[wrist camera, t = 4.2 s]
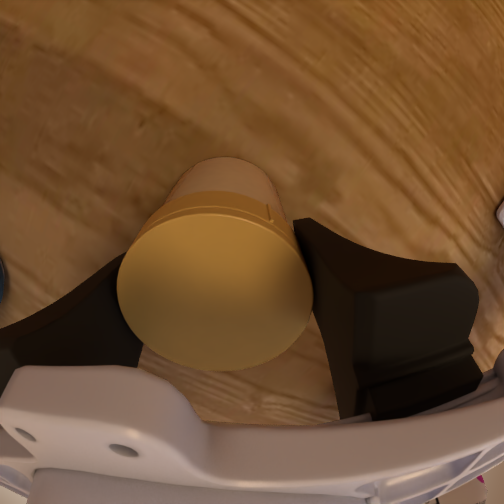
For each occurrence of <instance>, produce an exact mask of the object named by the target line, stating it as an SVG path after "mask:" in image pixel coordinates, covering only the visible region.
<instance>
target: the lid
mask: <svg viewBox="0 0 504 504" xmlns="http://www.w3.org/2000/svg"><path fill="white" fill-rule="evenodd" d="M117 295H118V302H119V305H120V309H121V312H122V314H123V316H124V318H125V320H126V322H127V324H128V325H129V327H130V329H131V330H132V331H133V332H134V334H135V335H136V336H137V337H138V338H139V339H140V340H141V341H142V342H143V343H144V344H145V345H146V346H148V347H149V348H150V349H151V350H153V351H154V352H156V353H157V354H159V355H161V356H162V357H164V358H166V359H168V360H170V361H172V362H175V363H177V364H180V365H183V366H186V367H190V368H194V369H199V370H206V371H235V370H241V369H246V368H250V367H254V366H257V365H260V364H262V363H265V362H267V361H269V360H271V359H273V358H275V357H276V356H278V355H280V354H281V353H283V352H284V351H285V350H286V349H288V348H289V347H290V346H291V345H292V344H293V343H294V342H295V341H296V340H297V339H298V338H299V336H300V335H301V333H302V332H303V331H304V329H305V327H306V325H307V323H308V321H309V318H310V315H311V312H312V307H313V285H312V280H311V277H310V273H309V271H308V267H307V264H306V261H305V258H304V256H303V253H302V250H301V247H300V244H299V241H298V239H297V237H296V235H295V234H294V232H293V230H292V229H291V227H290V226H289V225H288V223H287V222H286V221H285V220H284V219H283V218H282V217H281V216H280V215H279V214H278V213H277V212H275V211H274V210H273V209H271V205H270V204H267V205H265V204H263V203H262V202H260V201H258V200H256V199H253V198H251V197H248V196H246V195H242V194H238V193H234V192H227V191H202V192H195V193H191V194H188V195H184V196H181V197H179V198H177V199H174V200H172V201H170V202H169V203H167V204H165V205H164V206H162V207H161V208H160V209H158V210H157V211H156V212H155V213H154V214H153V215H152V216H151V217H150V218H149V219H148V220H147V221H146V223H145V224H144V226H143V227H142V229H141V230H140V232H139V234H138V235H137V237H136V238H135V240H134V242H133V243H132V245H131V246H130V248H129V250H128V251H127V253H126V255H125V256H124V258H123V260H122V263H121V266H120V268H119V272H118V277H117Z"/></svg>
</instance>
